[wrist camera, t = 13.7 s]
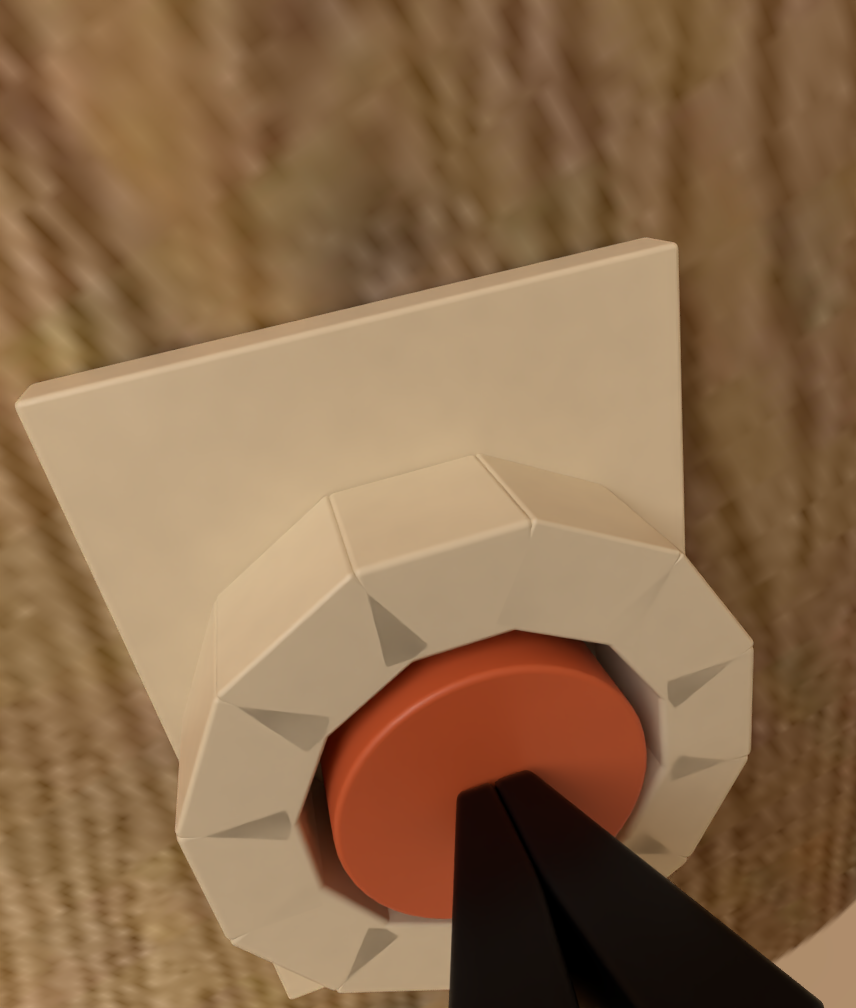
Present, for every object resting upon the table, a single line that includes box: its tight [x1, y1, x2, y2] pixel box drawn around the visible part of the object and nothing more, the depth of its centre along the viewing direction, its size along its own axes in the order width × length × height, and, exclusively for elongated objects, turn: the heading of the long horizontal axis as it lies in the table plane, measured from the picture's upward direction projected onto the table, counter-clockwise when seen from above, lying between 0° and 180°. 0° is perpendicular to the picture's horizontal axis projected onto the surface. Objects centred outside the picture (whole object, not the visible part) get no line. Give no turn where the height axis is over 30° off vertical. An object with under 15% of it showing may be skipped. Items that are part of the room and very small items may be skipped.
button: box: [320, 630, 647, 919], centre depth 9 cm, size 4×4×2 cm
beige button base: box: [15, 237, 754, 999], centre depth 9 cm, size 10×7×2 cm
